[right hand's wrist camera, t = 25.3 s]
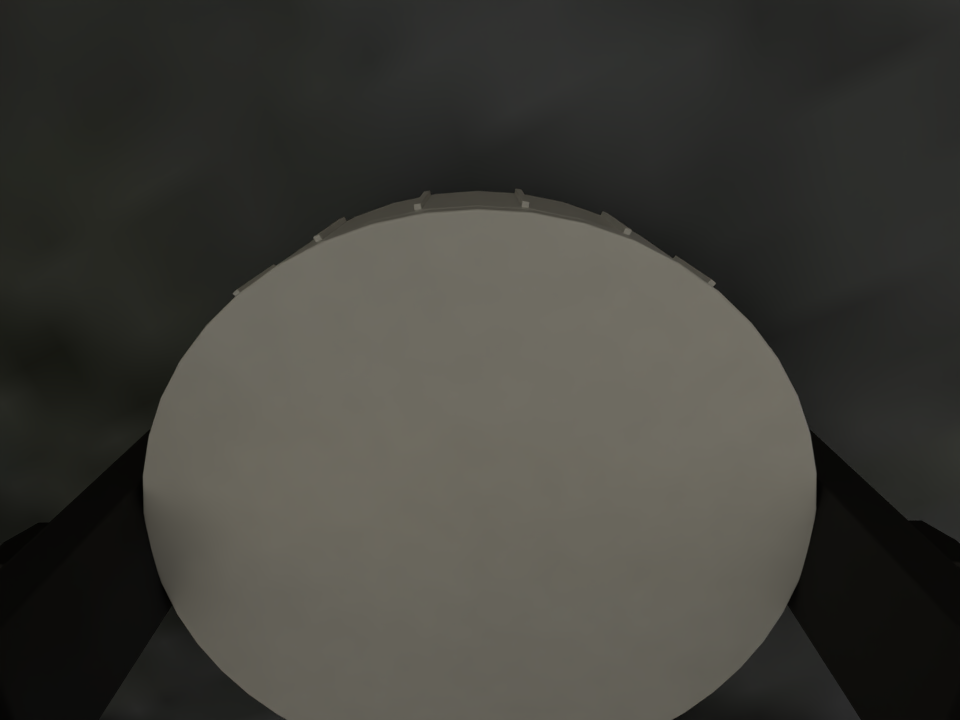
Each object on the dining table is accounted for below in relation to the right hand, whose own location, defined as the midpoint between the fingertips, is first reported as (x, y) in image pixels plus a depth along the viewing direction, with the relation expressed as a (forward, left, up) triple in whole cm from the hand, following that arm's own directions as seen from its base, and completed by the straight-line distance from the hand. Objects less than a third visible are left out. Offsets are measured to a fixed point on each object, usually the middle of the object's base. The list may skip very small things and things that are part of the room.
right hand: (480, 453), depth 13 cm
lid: (0, 0, +3) cm, 3 cm away
